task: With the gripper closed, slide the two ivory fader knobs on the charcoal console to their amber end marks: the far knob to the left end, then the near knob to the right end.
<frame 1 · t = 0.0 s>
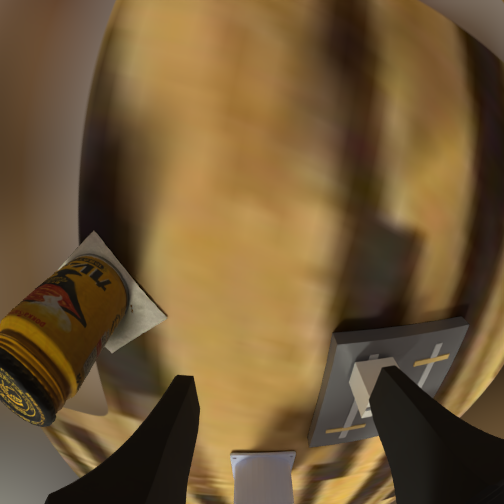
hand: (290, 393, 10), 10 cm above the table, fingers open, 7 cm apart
condiment: (103, 296, 20), on the table
console: (383, 387, 24), on the table
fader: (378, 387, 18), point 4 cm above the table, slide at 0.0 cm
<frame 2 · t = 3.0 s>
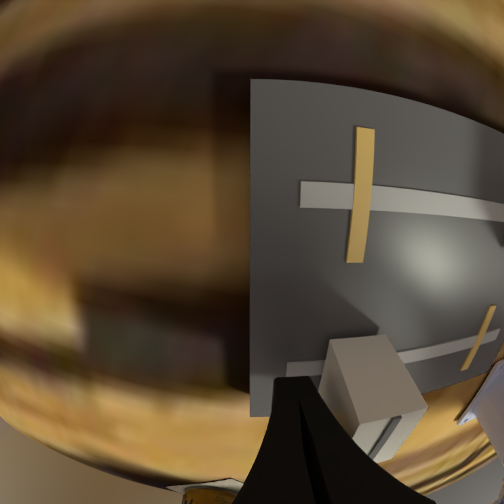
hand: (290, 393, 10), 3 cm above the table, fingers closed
condiment: (220, 491, 20), on the table
console: (425, 273, 11), on the table
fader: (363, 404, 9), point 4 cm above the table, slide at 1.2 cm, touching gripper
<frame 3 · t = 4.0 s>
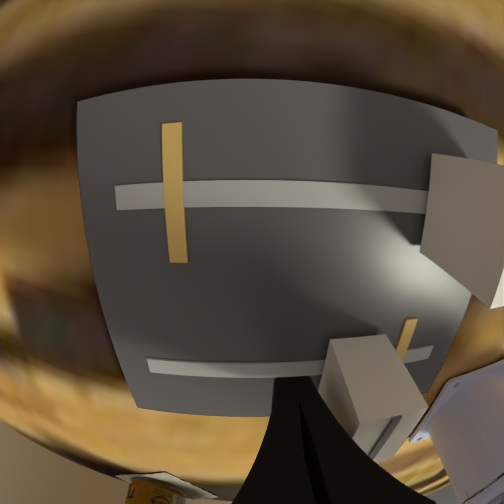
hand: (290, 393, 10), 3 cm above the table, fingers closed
condiment: (165, 485, 20), on the table
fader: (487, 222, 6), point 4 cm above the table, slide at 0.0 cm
console: (305, 277, 11), on the table
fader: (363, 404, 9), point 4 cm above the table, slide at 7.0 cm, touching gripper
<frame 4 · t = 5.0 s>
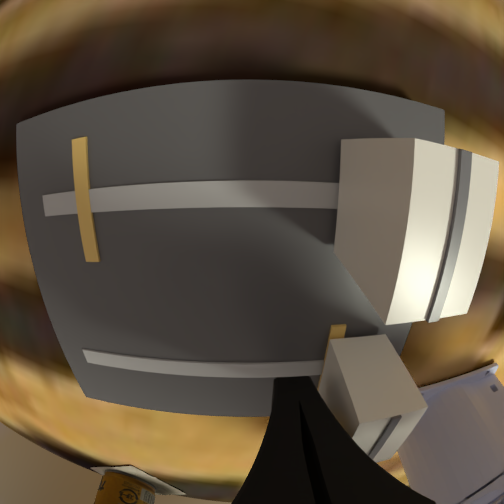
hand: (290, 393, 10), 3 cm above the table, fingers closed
condiment: (136, 479, 20), on the table
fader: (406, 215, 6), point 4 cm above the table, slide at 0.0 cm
console: (219, 277, 11), on the table
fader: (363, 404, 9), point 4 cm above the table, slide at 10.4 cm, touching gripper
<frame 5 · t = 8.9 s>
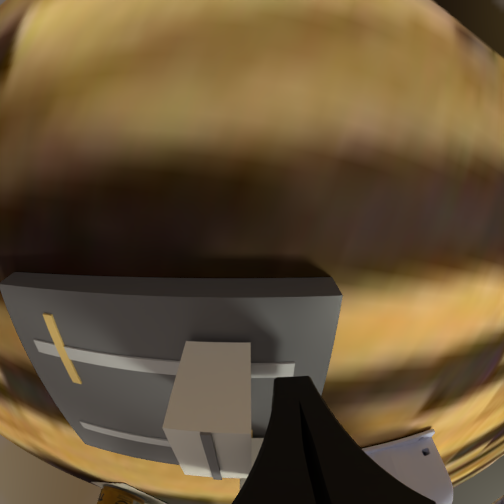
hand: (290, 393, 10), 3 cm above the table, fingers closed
condiment: (129, 492, 23), on the table
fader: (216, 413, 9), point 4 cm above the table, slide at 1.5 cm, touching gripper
console: (164, 390, 13), on the table
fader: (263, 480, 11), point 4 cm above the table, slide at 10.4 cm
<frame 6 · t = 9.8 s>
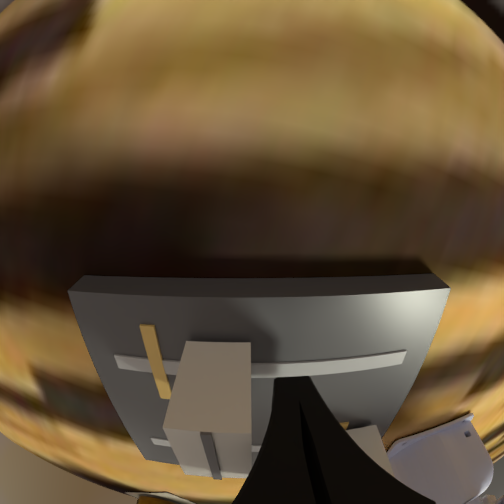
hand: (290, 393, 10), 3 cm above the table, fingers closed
condiment: (166, 500, 23), on the table
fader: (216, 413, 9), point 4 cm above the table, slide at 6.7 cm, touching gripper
console: (260, 395, 13), on the table
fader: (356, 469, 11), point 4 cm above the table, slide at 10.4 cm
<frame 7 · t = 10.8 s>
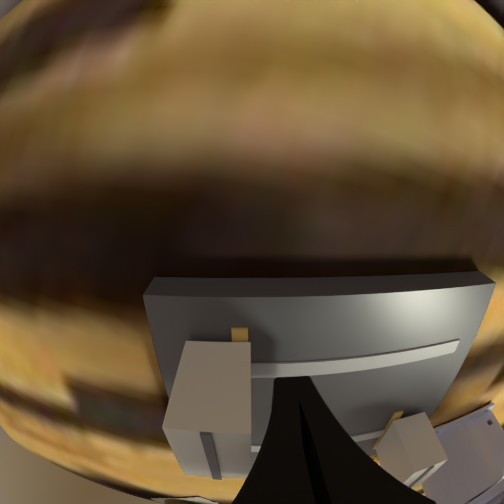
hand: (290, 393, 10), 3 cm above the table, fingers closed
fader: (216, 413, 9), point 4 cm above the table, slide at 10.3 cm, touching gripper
console: (326, 391, 14), on the table
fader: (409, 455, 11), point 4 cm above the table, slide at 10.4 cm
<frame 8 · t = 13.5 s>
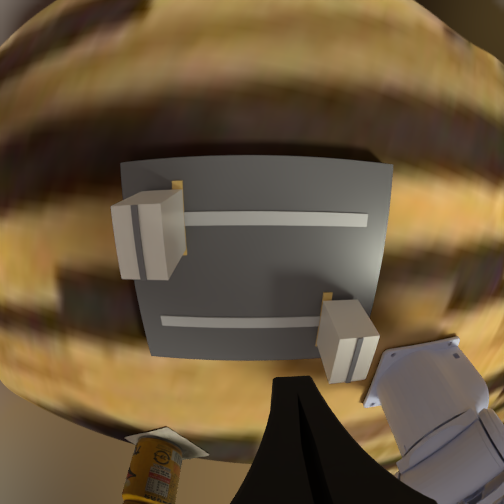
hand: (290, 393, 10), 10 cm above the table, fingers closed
condiment: (165, 444, 27), on the table
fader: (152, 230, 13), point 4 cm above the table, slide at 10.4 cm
console: (257, 264, 18), on the table
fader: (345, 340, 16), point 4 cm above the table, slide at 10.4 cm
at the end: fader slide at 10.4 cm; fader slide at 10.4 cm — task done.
